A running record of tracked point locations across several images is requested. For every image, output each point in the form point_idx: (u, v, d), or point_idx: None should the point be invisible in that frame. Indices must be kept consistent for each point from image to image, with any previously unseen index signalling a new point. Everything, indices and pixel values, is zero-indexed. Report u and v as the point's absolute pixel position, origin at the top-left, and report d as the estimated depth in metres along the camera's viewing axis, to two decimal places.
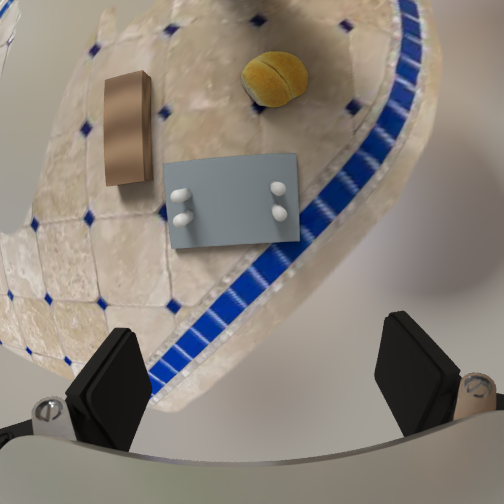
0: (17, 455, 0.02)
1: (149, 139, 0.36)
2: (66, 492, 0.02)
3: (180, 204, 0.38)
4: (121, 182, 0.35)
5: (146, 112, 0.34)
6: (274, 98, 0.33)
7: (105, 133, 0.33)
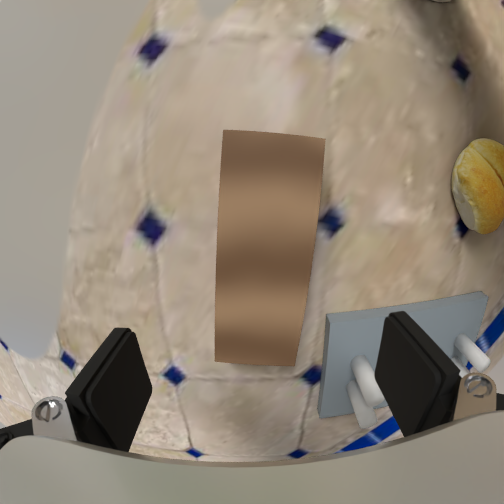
0: (17, 455, 0.02)
1: None
2: (66, 492, 0.02)
3: (346, 374, 0.23)
4: (248, 362, 0.20)
5: None
6: (493, 227, 0.18)
7: (220, 267, 0.18)
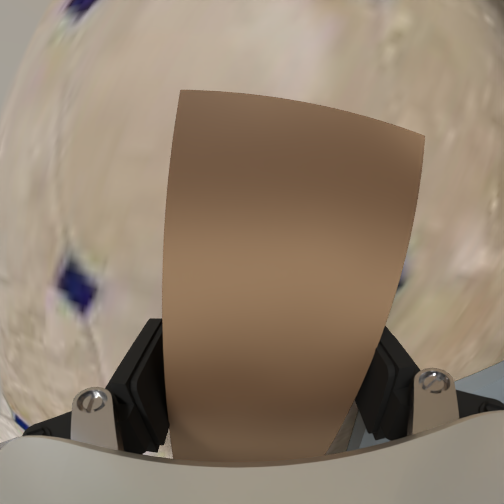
0: (17, 455, 0.02)
1: None
2: (66, 492, 0.02)
3: None
4: None
5: None
6: None
7: (174, 395, 0.08)
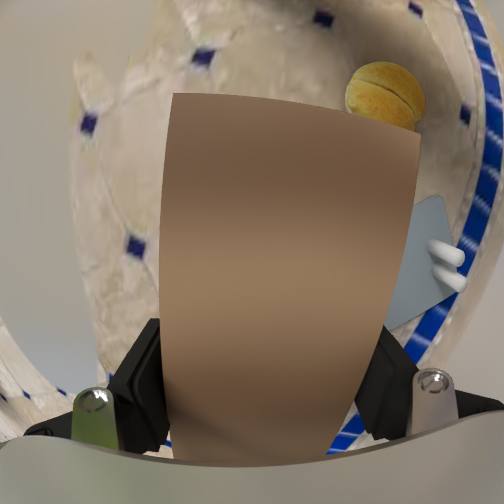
0: (17, 455, 0.02)
1: None
2: (66, 492, 0.02)
3: None
4: None
5: None
6: None
7: (174, 397, 0.08)
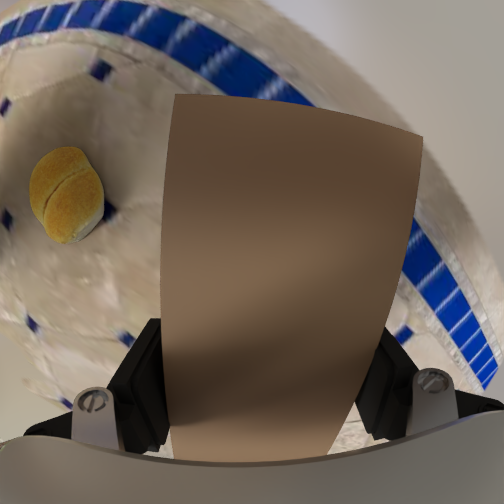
0: (17, 455, 0.02)
1: None
2: (66, 492, 0.02)
3: None
4: None
5: None
6: (85, 196, 0.20)
7: (174, 398, 0.08)
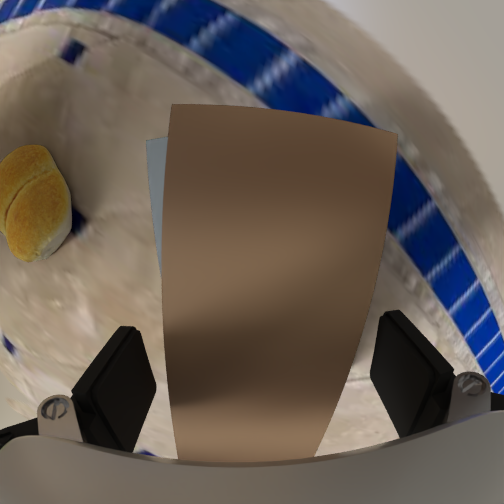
0: (17, 455, 0.02)
1: None
2: (66, 492, 0.02)
3: None
4: None
5: None
6: (46, 205, 0.15)
7: (175, 382, 0.09)
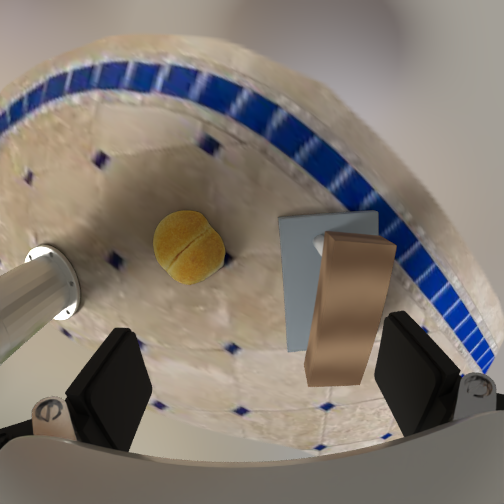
0: (17, 455, 0.02)
1: None
2: (66, 492, 0.02)
3: None
4: (331, 384, 0.27)
5: None
6: (215, 252, 0.32)
7: (323, 328, 0.25)
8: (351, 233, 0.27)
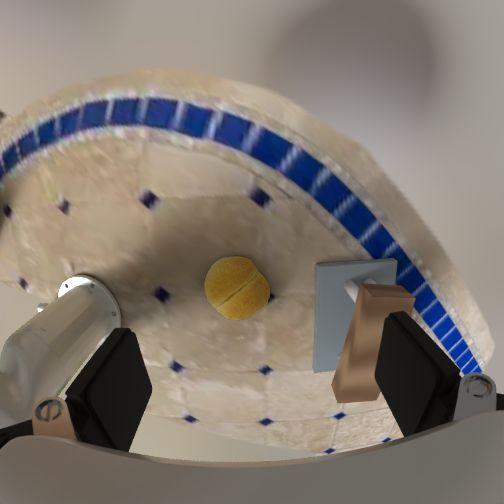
0: (17, 455, 0.02)
1: None
2: (66, 492, 0.02)
3: None
4: (355, 401, 0.33)
5: None
6: (263, 295, 0.37)
7: (355, 359, 0.31)
8: (379, 284, 0.32)
